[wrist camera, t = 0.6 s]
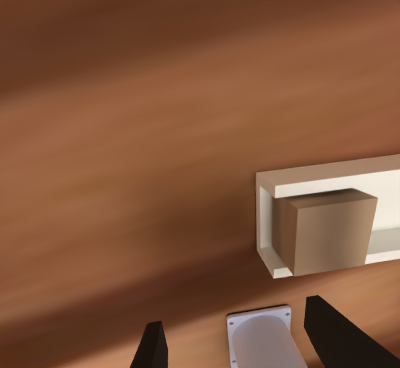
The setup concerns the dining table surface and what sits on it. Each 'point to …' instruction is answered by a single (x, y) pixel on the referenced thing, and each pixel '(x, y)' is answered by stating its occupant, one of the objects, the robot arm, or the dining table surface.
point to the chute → (327, 181)
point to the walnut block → (323, 230)
